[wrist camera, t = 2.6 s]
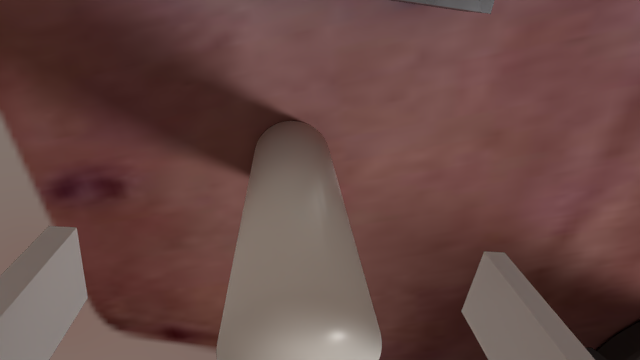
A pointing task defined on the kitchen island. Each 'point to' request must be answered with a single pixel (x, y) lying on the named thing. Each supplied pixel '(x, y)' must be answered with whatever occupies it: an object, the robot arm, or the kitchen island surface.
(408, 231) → the kitchen island surface
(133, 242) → the kitchen island surface
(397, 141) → the kitchen island surface
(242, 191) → the kitchen island surface
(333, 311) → the white tapered capsule
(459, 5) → the block
